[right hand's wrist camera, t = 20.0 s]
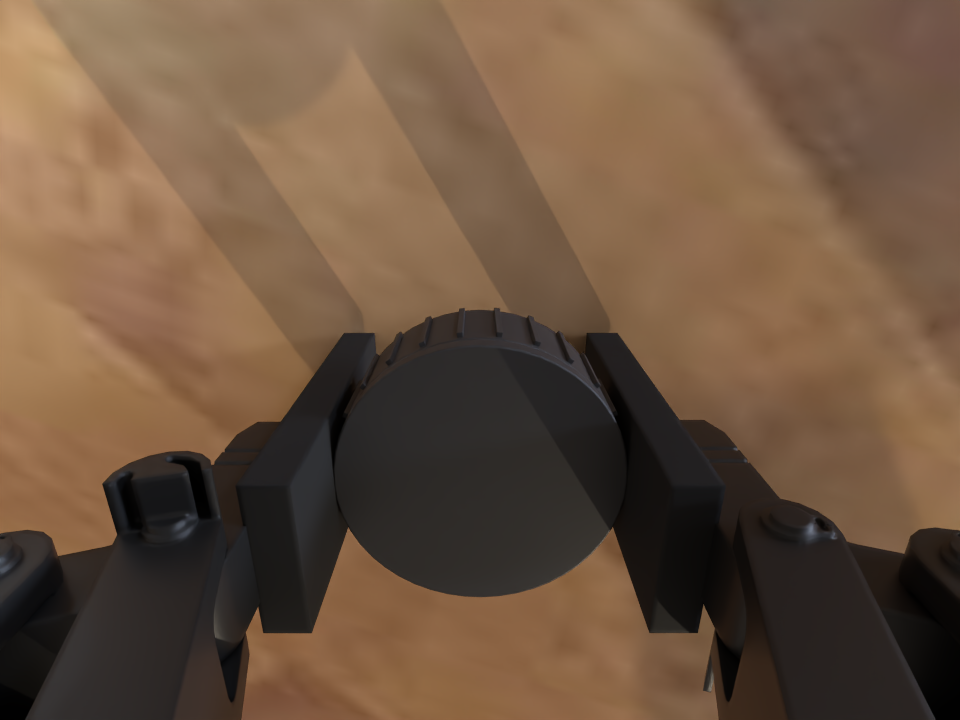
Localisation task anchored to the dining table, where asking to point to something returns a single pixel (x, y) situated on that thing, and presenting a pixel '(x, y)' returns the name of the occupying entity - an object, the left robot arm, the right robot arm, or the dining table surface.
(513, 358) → the lid
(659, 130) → the dining table surface
